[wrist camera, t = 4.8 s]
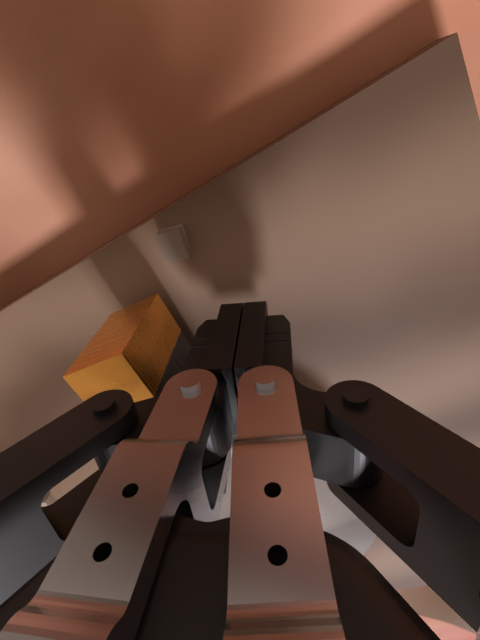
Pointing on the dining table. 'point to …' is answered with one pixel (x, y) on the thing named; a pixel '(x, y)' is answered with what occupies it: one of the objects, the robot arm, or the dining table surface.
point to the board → (302, 262)
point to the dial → (154, 372)
